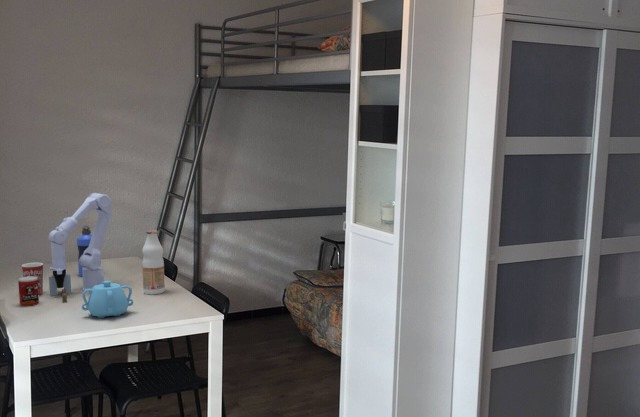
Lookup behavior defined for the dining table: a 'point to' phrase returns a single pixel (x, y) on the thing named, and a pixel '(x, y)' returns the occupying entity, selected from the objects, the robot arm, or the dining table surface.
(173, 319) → the dining table surface
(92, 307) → the decorative pot
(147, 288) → the fruit juice
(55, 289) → the slim blue-grey slab
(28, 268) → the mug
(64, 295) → the rail
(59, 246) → the robot arm
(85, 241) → the water bottle
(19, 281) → the canned food
